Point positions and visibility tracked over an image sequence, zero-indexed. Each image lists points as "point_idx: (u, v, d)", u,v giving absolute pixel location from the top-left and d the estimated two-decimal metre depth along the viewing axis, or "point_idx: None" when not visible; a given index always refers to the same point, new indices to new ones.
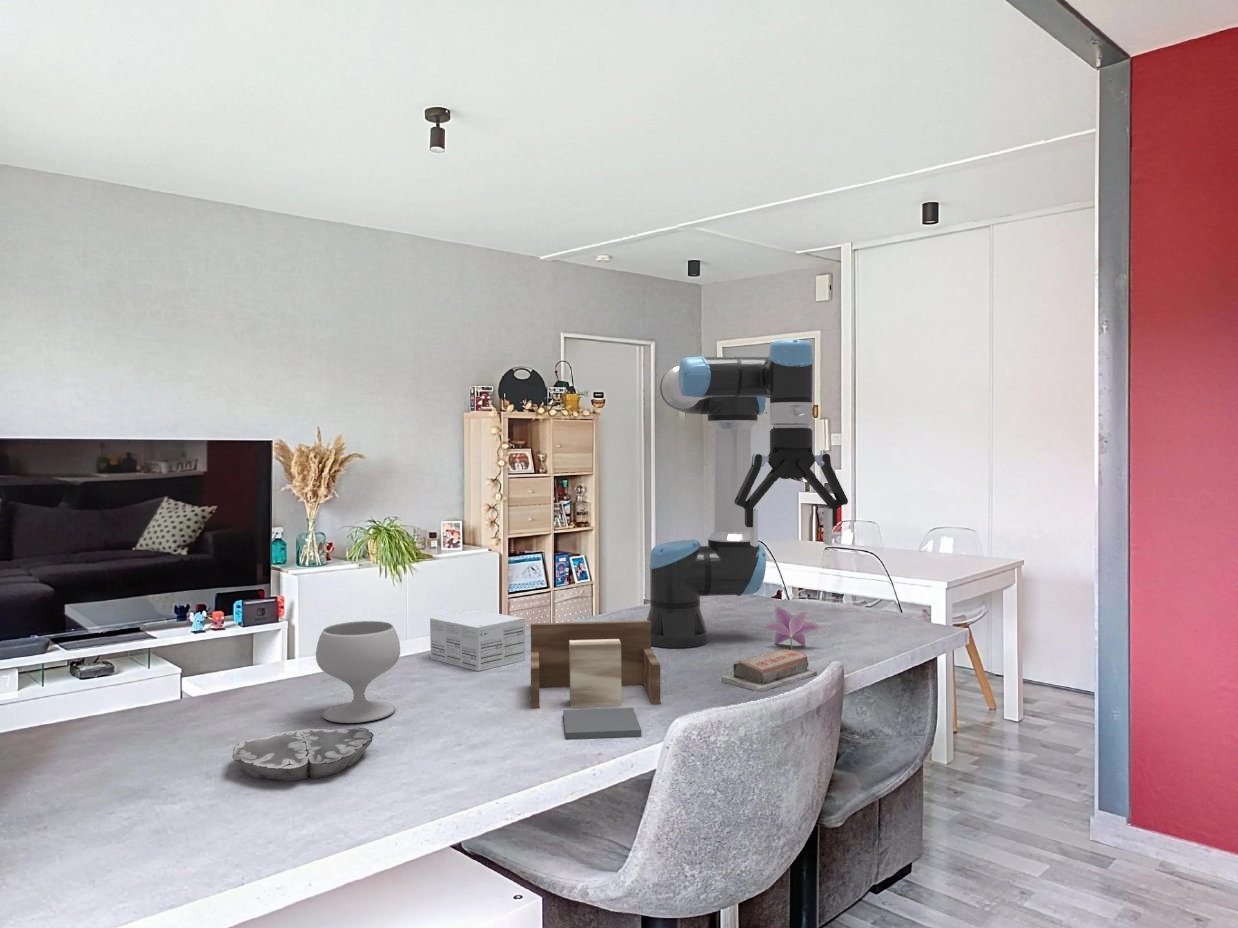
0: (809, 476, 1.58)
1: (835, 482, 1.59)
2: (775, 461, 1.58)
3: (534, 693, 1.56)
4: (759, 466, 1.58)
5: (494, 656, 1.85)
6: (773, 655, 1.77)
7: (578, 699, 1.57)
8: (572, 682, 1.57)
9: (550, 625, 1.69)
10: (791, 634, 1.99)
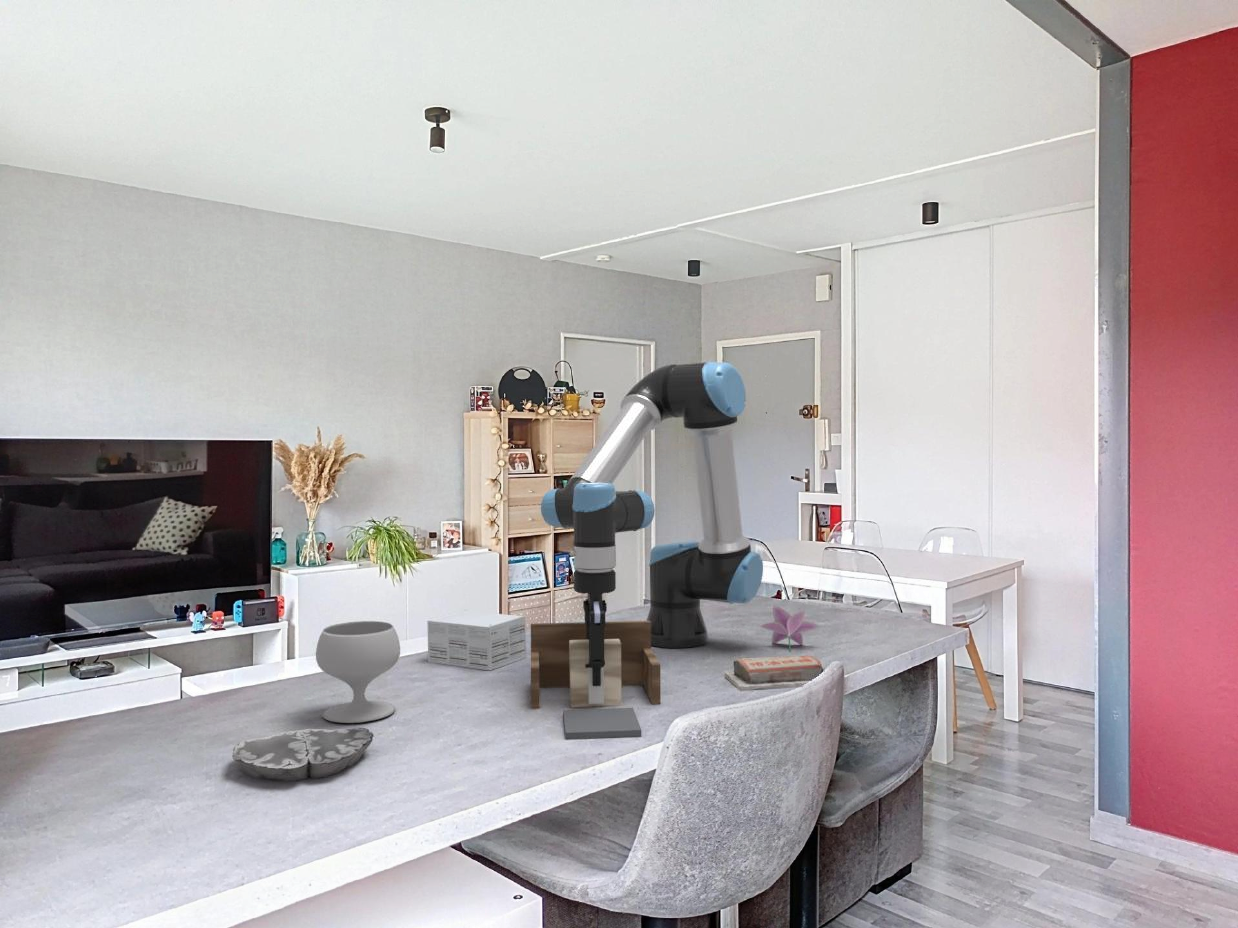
0: None
1: (590, 641, 1.54)
2: (587, 600, 1.62)
3: (534, 693, 1.56)
4: None
5: (502, 654, 1.86)
6: (783, 658, 1.74)
7: (578, 699, 1.57)
8: (572, 682, 1.57)
9: (550, 625, 1.69)
10: (789, 633, 2.00)
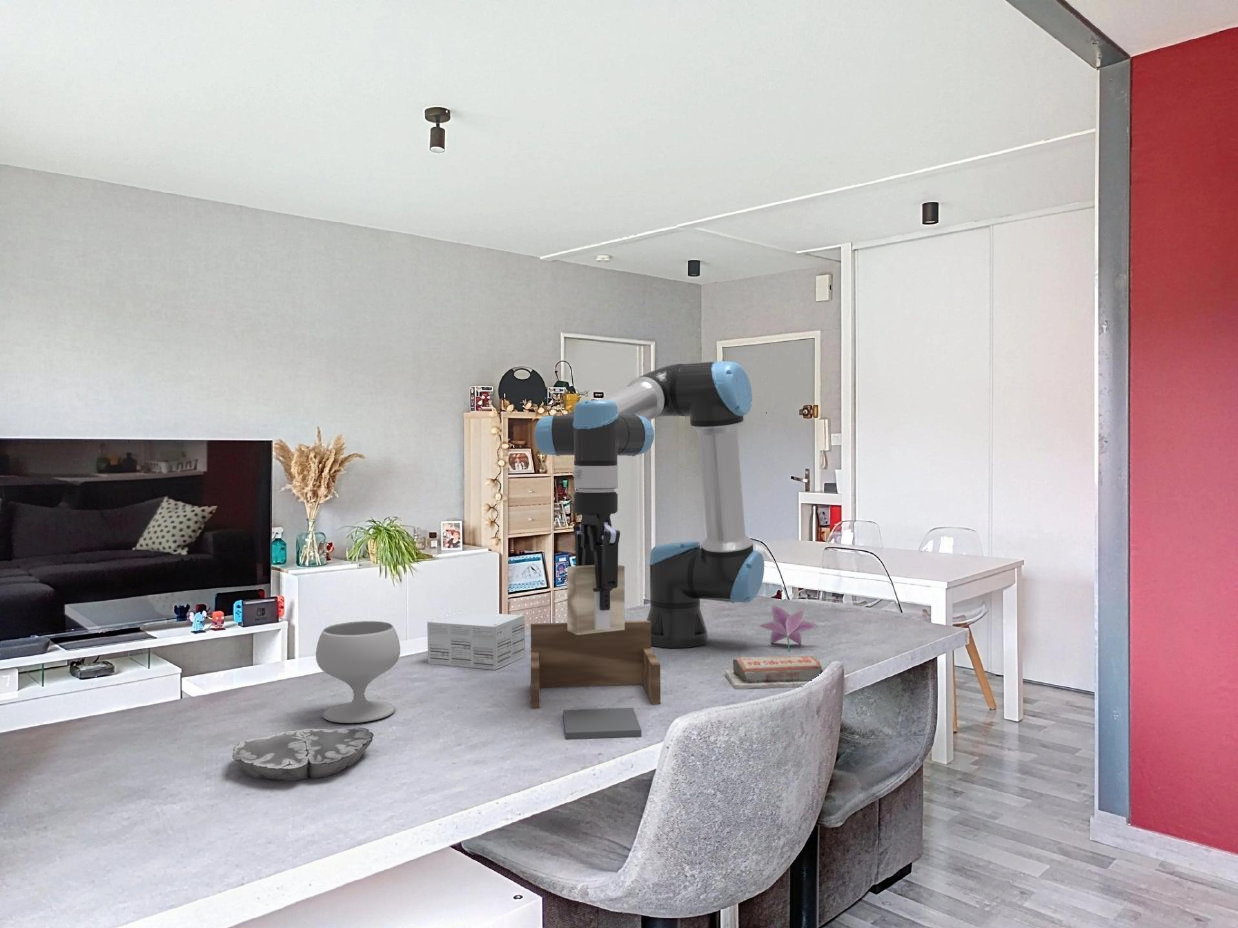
0: (590, 546, 1.51)
1: (603, 562, 1.48)
2: None
3: (534, 693, 1.56)
4: (576, 536, 1.57)
5: (506, 653, 1.87)
6: (783, 658, 1.74)
7: (584, 626, 1.50)
8: (578, 608, 1.49)
9: (550, 625, 1.69)
10: (788, 633, 2.00)
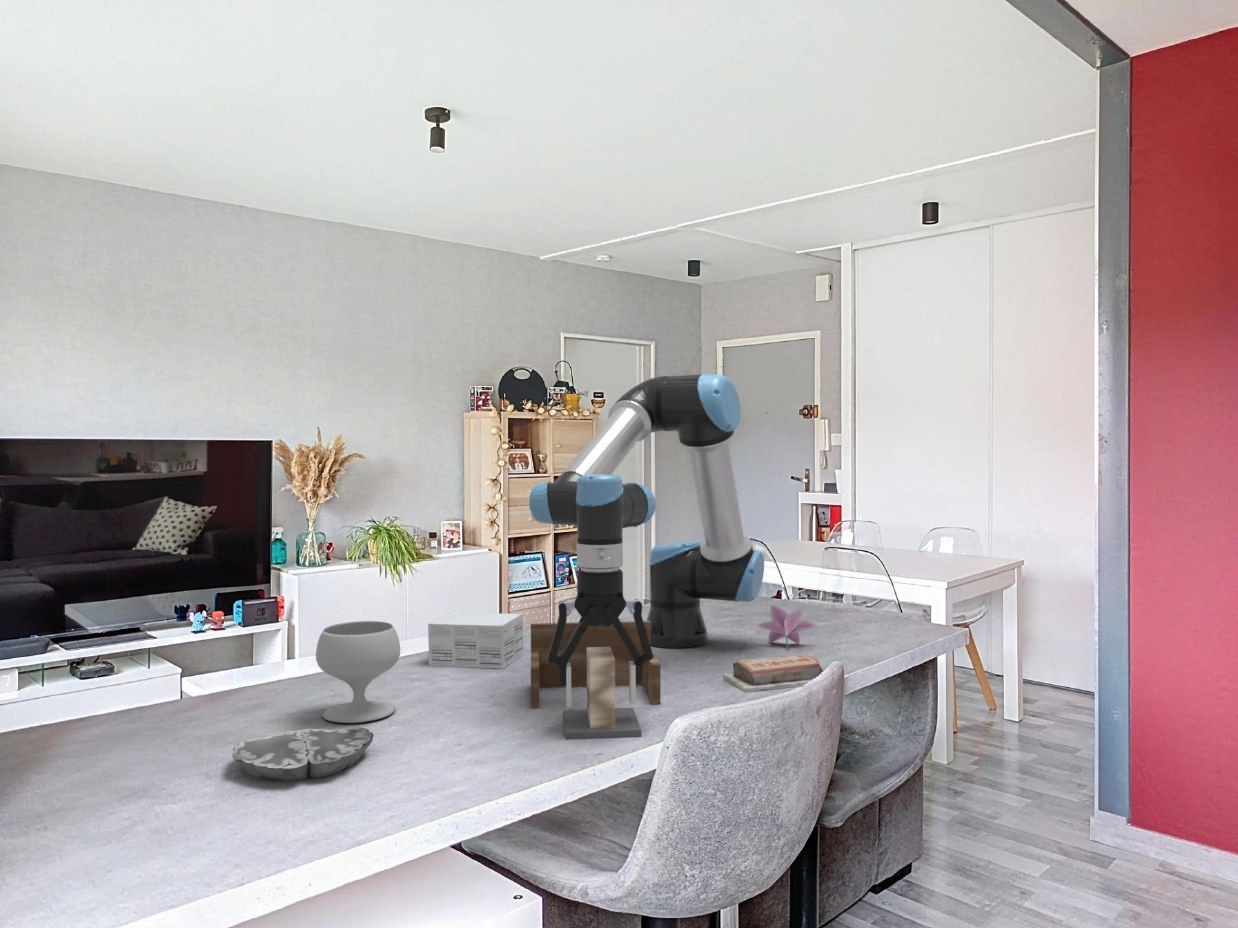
0: (615, 625, 1.45)
1: (643, 634, 1.46)
2: (581, 607, 1.45)
3: (534, 693, 1.56)
4: (565, 616, 1.44)
5: (510, 652, 1.88)
6: (782, 658, 1.74)
7: None
8: (614, 700, 1.42)
9: (550, 625, 1.69)
10: (786, 632, 2.01)
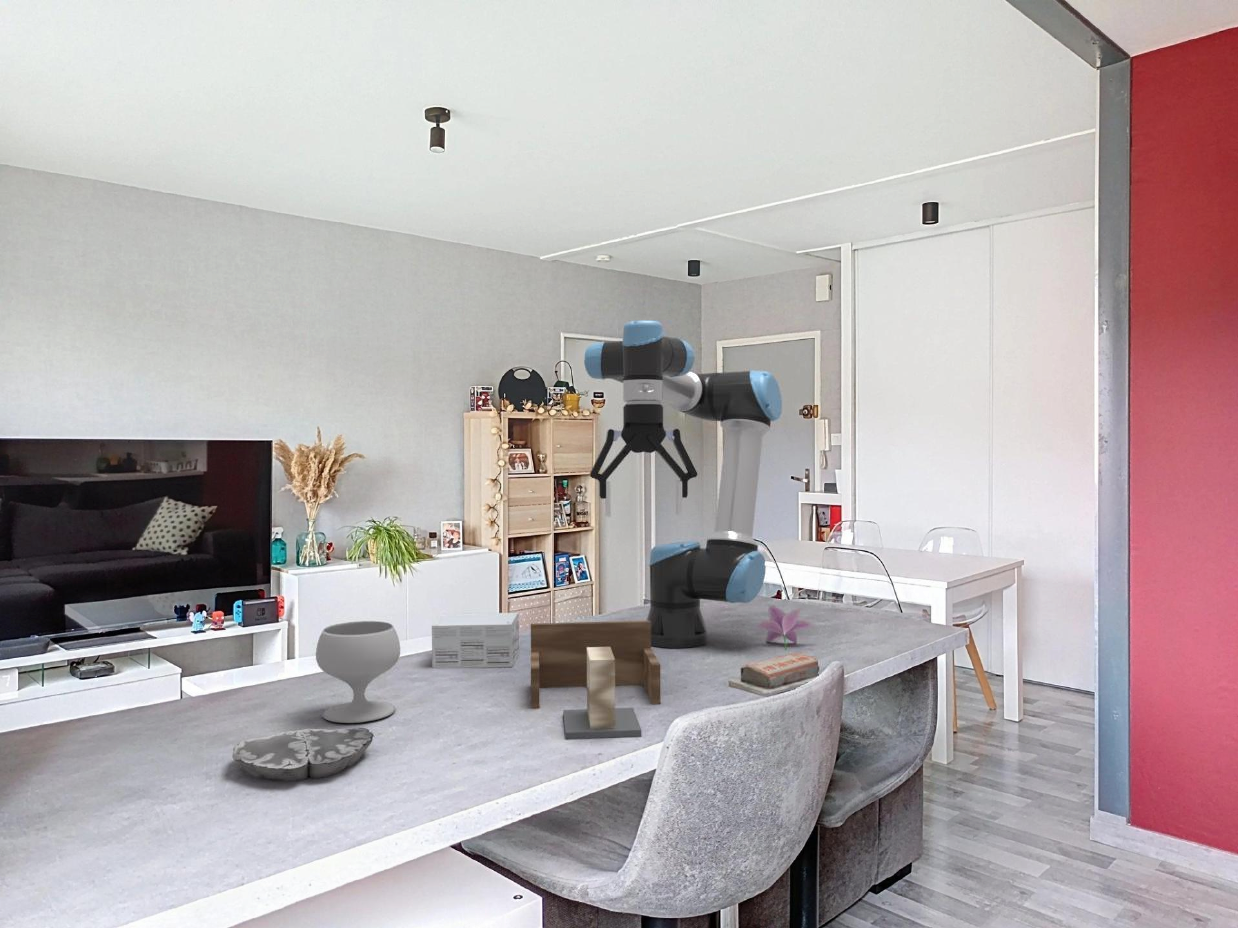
0: (659, 450, 1.67)
1: (685, 456, 1.68)
2: (627, 436, 1.67)
3: (534, 693, 1.56)
4: (611, 440, 1.66)
5: (515, 650, 1.89)
6: (782, 659, 1.74)
7: None
8: (614, 700, 1.42)
9: (550, 625, 1.69)
10: (784, 632, 2.01)
